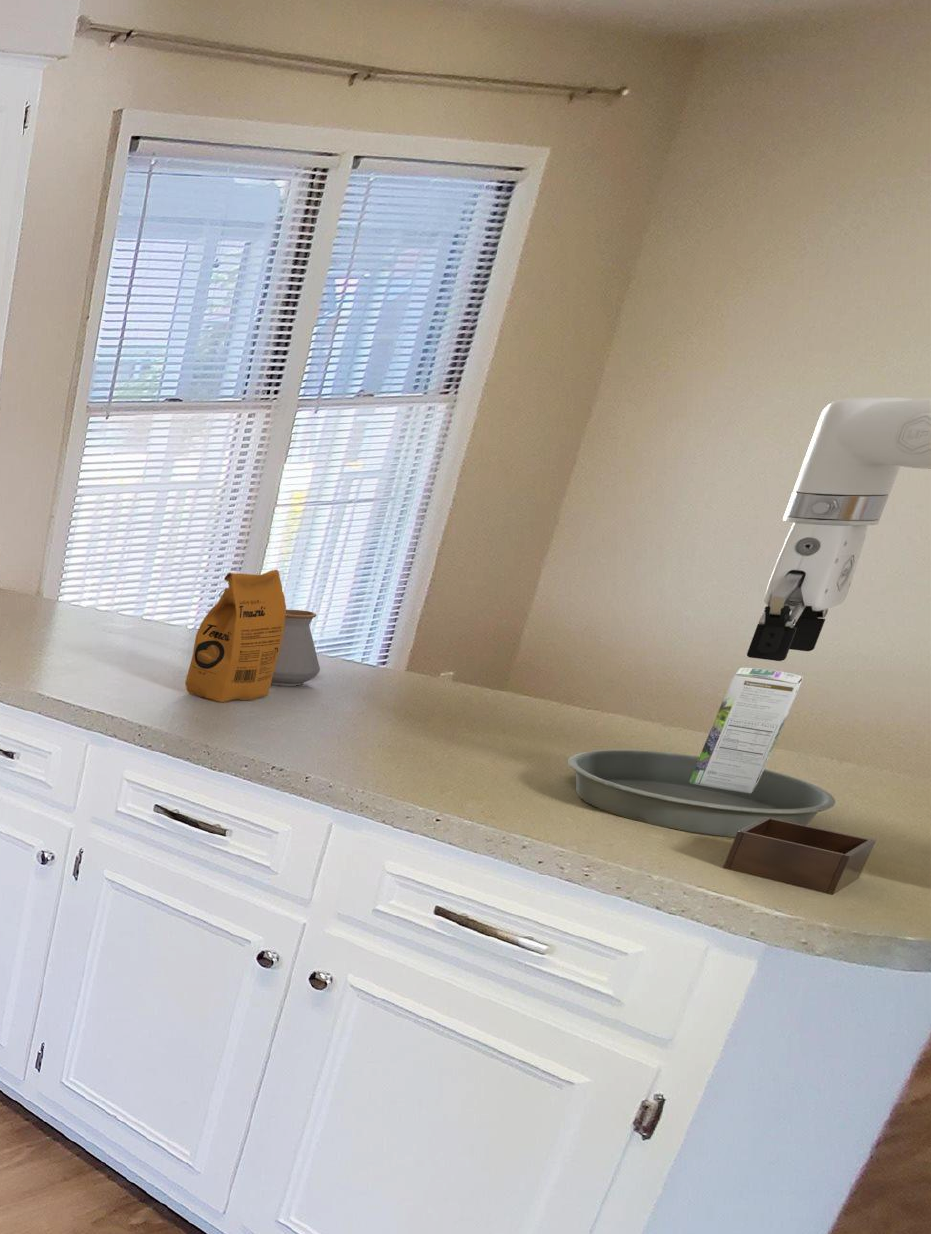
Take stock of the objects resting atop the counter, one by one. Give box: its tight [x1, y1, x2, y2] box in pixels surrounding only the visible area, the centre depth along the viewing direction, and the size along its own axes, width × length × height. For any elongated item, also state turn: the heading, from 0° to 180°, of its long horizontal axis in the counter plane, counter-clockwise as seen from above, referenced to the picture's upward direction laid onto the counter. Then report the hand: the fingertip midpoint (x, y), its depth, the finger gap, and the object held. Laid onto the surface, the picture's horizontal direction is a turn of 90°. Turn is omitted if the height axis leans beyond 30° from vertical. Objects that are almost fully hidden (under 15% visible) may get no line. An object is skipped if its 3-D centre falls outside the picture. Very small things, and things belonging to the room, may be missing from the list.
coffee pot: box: [218, 587, 321, 687], centre depth 219 cm, size 21×12×15 cm, turn 17°
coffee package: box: [184, 569, 287, 703], centre depth 205 cm, size 10×12×22 cm
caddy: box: [722, 817, 876, 896], centre depth 130 cm, size 9×9×6 cm
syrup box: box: [689, 667, 804, 793], centre depth 146 cm, size 6×6×14 cm
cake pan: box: [567, 749, 836, 838], centre depth 152 cm, size 25×25×4 cm
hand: (779, 654), depth 142 cm, fingers open, 9 cm apart
